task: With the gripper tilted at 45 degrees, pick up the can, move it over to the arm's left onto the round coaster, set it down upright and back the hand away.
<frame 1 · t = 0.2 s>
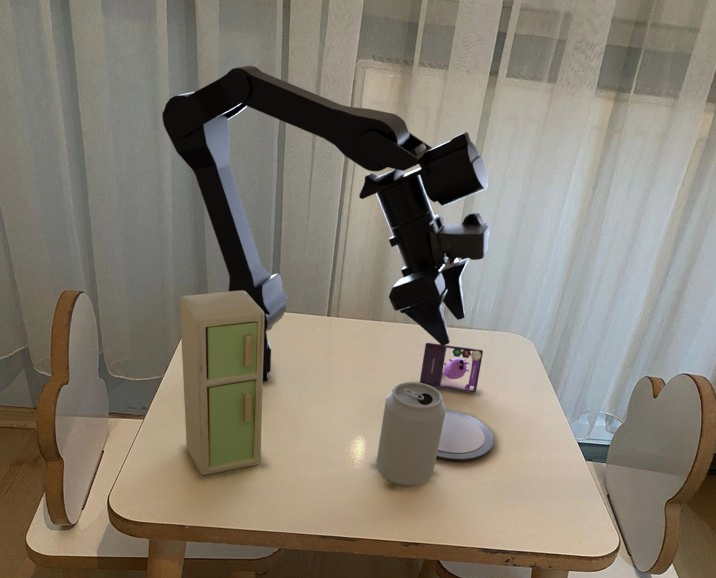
hand: (453, 330, 96), 15 cm above the table, tool tilted 30°, fingers open, 9 cm apart
can: (403, 473, 93), on the table
game card: (446, 383, 115), on the table
toy refrigerator: (223, 459, 91), on the table
coaster: (447, 436, 101), on the table
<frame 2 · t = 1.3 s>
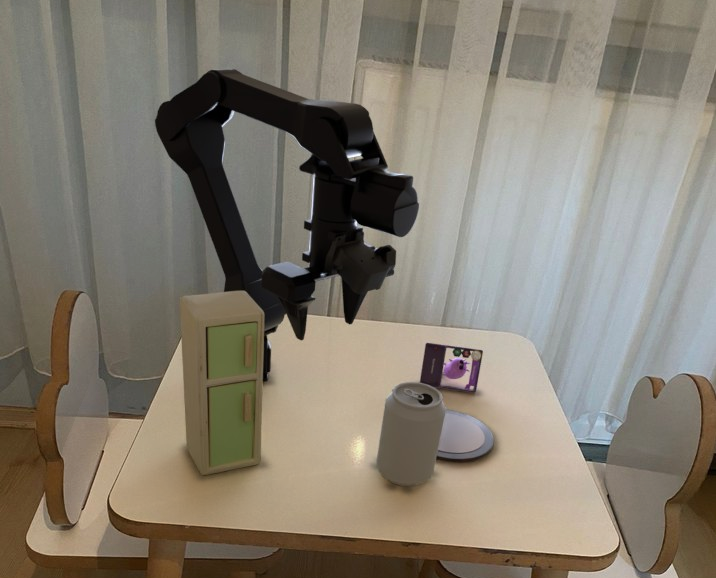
hand: (325, 331, 98), 12 cm above the table, tool pointing down, fingers open, 9 cm apart
nothing on the table moved.
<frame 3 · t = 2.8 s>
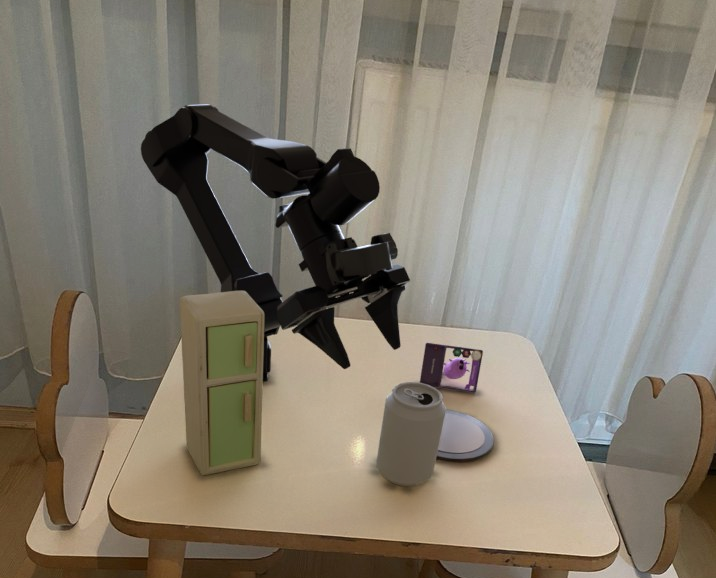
hand: (373, 357, 90), 13 cm above the table, tool tilted 45°, fingers open, 9 cm apart
nothing on the table moved.
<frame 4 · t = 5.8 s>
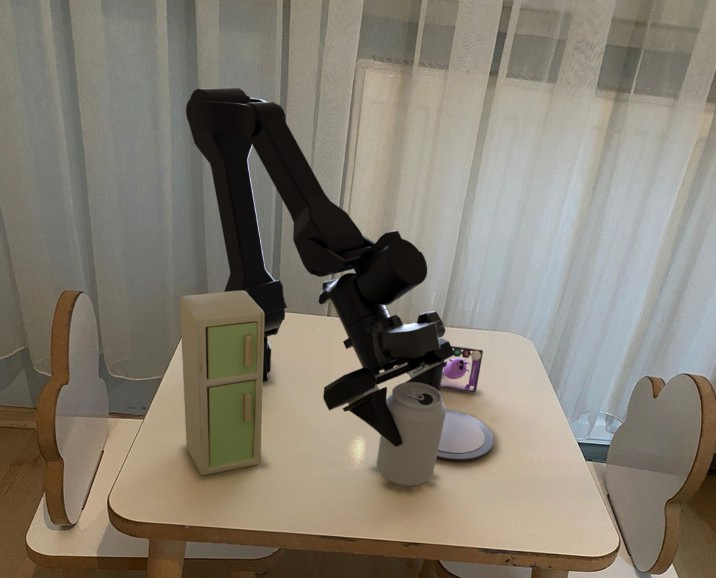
hand: (419, 435, 88), 7 cm above the table, tool tilted 45°, fingers closed on can, 7 cm apart
can: (403, 474, 93), on the table, touching gripper
everything else where it was.
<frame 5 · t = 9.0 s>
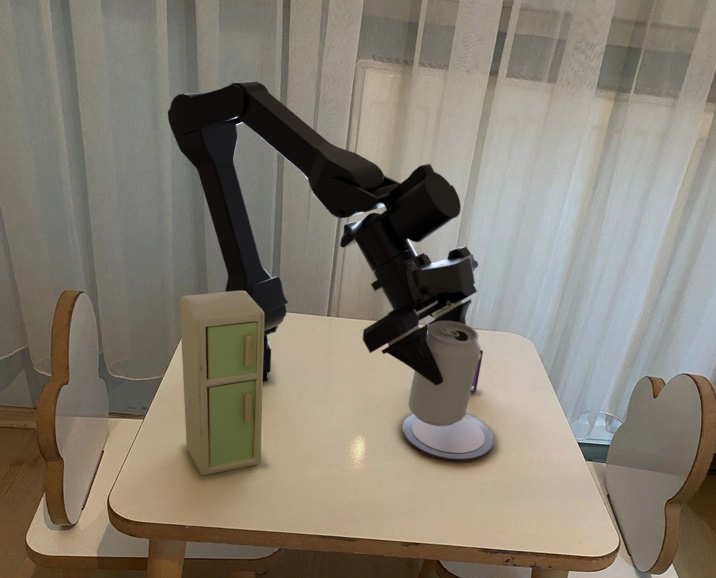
hand: (454, 373, 89), 13 cm above the table, tool tilted 45°, fingers closed on can, 7 cm apart
can: (435, 415, 93), point 6 cm above the table, touching gripper
everything else where it was.
when the fingers open (7 cm above the table, at t = 12.3 s): can stays where it is, resting on coaster.
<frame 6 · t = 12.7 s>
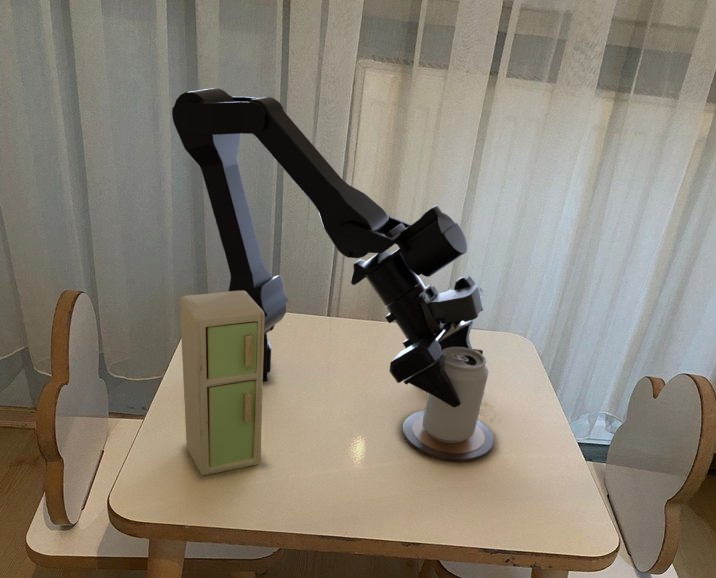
hand: (467, 391, 97), 8 cm above the table, tool tilted 45°, fingers open, 9 cm apart
can: (447, 432, 101), resting on coaster
everything else where it was.
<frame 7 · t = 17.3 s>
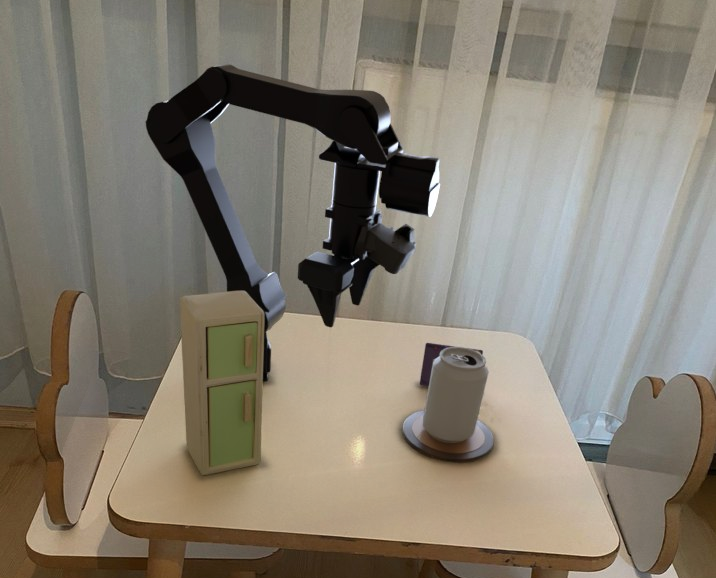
hand: (343, 315, 100), 13 cm above the table, tool pointing down, fingers open, 9 cm apart
nothing on the table moved.
at the end: can inside the target area on the coaster (0.1 cm from its centre), point 0.5 cm above the coaster's base; can tilted 0°; the gripper is holding nothing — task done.
